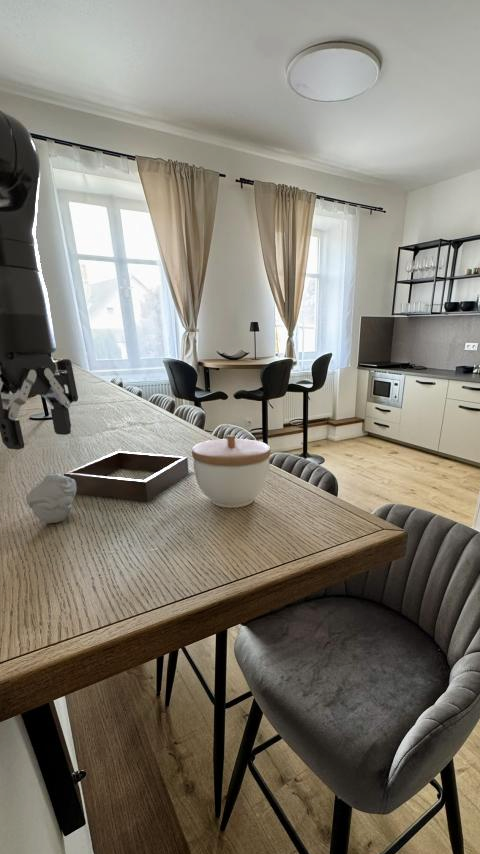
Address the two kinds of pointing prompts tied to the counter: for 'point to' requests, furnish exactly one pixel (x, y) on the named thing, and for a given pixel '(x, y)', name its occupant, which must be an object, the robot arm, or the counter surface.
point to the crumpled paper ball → (52, 498)
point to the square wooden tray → (98, 484)
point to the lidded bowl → (231, 470)
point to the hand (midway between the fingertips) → (40, 440)
